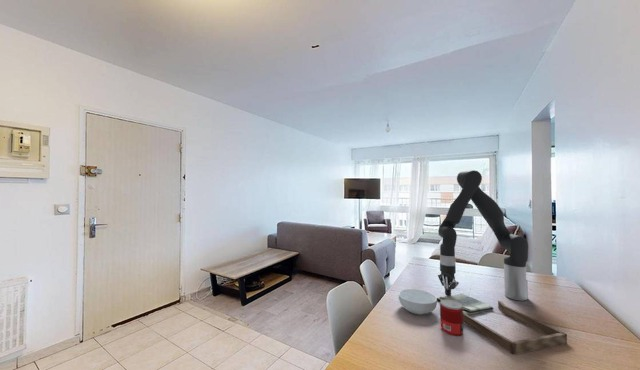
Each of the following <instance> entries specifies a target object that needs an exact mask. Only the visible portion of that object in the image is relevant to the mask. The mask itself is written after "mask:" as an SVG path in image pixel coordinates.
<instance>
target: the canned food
mask: <svg viewBox="0 0 640 370" xmlns="http://www.w3.org/2000/svg"><path fill="white" fill-rule="evenodd" d="M439 306H440V309H439V312H440V313H439V314H440V329H441V331H442V332H444V333H445V334H447V335H449V336H453V337H459V336H462V335H463V333H464V322H463V307H462V304H461V303H459V302H457V301H454V300H448V299H444V300H441V301H440V302H439Z"/></svg>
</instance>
